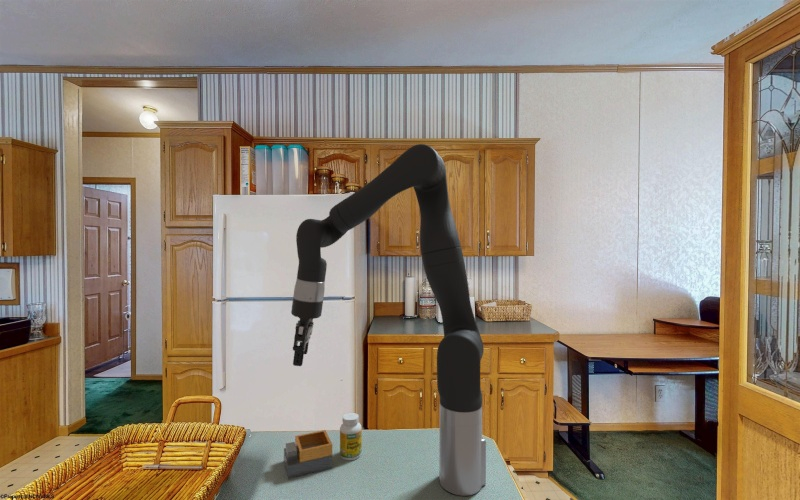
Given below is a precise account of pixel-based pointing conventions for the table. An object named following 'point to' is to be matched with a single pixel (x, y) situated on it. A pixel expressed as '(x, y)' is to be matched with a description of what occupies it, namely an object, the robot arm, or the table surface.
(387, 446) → the table surface
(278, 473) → the table surface
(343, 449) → the supplement bottle
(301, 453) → the orange open box frame
